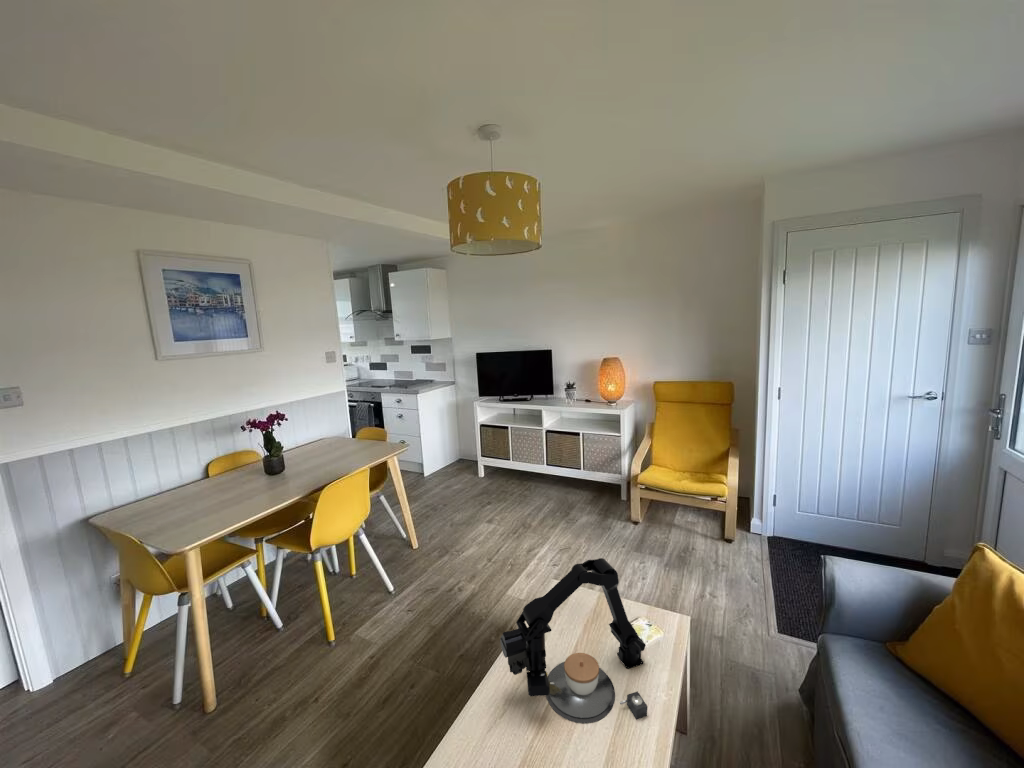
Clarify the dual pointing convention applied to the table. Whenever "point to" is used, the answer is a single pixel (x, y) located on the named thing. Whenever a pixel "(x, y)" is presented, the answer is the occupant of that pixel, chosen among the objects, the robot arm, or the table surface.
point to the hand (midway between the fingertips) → (536, 688)
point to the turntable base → (584, 719)
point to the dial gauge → (636, 705)
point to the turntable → (576, 703)
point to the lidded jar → (581, 673)
